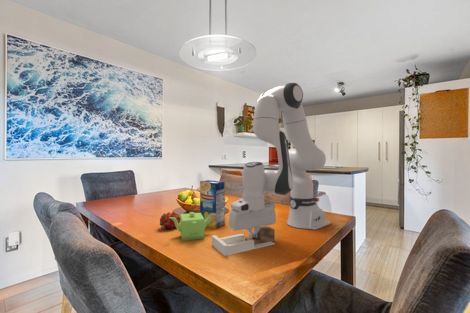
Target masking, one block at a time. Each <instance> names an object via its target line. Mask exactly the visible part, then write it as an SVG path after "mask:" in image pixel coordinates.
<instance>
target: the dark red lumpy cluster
mask: <svg viewBox="0 0 470 313" xmlns="http://www.w3.org/2000/svg"><path fill="white" fill-rule="evenodd" d="M160 216H161V217H160V218H159V226H160V227H161V228H164V229H165V230H168V229H171V230H172V229H174V228H176V226H175V223H174V221H173V220H172V219H170V217H175V218H176V219H177V221H178V223H179V224H180V223H181V220H180V214H179V213H175V212H174V211H173V212H170V211H168V212H166V213H163V214H162V215H160Z"/></svg>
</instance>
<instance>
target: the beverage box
mask: <svg viewBox="0 0 470 313" xmlns="http://www.w3.org/2000/svg"><path fill="white" fill-rule="evenodd" d="M225 185H226V182H225V181H221V180H214V179H213V180H211V179H208V180H207V179H206V180H201V181H199V213H201V214H202V216H203V218H204V221H205V220H206V219H207V218H208V217H211V220H210V221H209V223H208V225H207V226H206V227H210V228H213V229H218V228H221V227H222V226H225V225H226V222H225V221H226V210H225V208H226V204H225V203H226V202H225V201H226V194H225V193H226V189H225V187H226V186H225Z"/></svg>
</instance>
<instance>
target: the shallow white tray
mask: <svg viewBox="0 0 470 313" xmlns="http://www.w3.org/2000/svg"><path fill="white" fill-rule="evenodd" d="M272 245H275V243H274V241H270V242H266V243H261V244H257V245H254V240H247V241H245V234H244V233H240V234H233V235H228V236H223V237H218V235H216V234H214V235H211V246H212V247H214V249H215V250H217V251H218V252H219V253H220V255H222V256H224V257H226V256H227V257H228V256H230V255H231V256H232V255H235V254H239V253H243V252H249V251H251V250H256V249H260V248H264V247H269V246H272Z"/></svg>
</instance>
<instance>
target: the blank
mask: <svg viewBox="0 0 470 313" xmlns="http://www.w3.org/2000/svg"><path fill="white" fill-rule="evenodd" d="M254 230H255V228H253V231H254ZM275 231H276V230H275V228H272V227H270V226H269V225H266V226H260V230H259V232H258V234H257V238H253V239H250V238H249V236H246V237H245V236H244V238H245V241H247V240H254V245H257V244H261V243H266V242H270V241H271V242H274V241H275Z"/></svg>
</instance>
